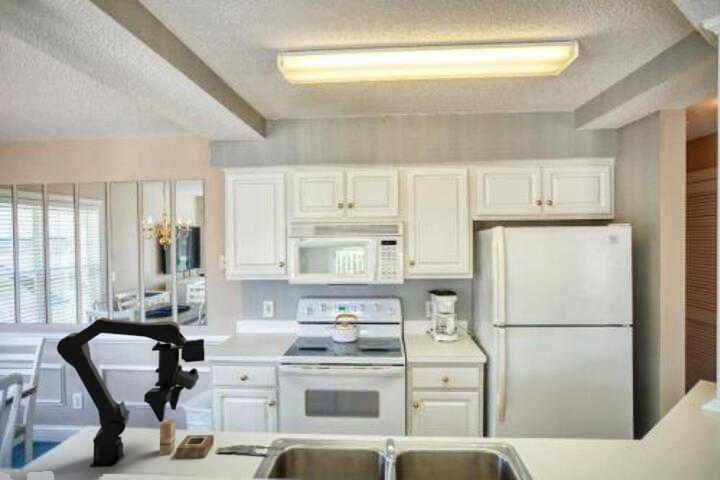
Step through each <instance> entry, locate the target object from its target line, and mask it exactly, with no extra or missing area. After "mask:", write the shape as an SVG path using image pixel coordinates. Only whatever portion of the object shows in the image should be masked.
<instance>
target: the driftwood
mask: <svg viewBox="0 0 720 480" xmlns="http://www.w3.org/2000/svg"><path fill="white" fill-rule="evenodd" d="M285 446H286V444H285V445H283V446H281V447H279V446H278V447H277V446H264V445H252V444H251V445H250V444H249V445H246V444H240V445H237V444H236V445H231V446H225V447H217V448H216V452H215V453H216V454H219V453H233V452H237V455H240V454H242V453H243V454H244V453H247V454H251V455H255V456H265V457H267V458H270V456H271V455H270V454H267V453H262V452H257V451H256V450H257V449H258V450H263V449H266V450H268V451H275V453H278V451H280V452H282V451H283V452H284V451H285V448H286V447H285ZM275 453H274V455H273V456H274V457H277V456H279V454H275Z"/></svg>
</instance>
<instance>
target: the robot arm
mask: <svg viewBox="0 0 720 480" xmlns="http://www.w3.org/2000/svg"><path fill="white" fill-rule="evenodd" d="M180 329H181V328H180V325H179V324H178V323H177V322H176V321H172V320H169V321H168V320H167V321H157V322H141V321H140V322H139V321H131V320H130V321H129V320H128V321H127V320H123V319H122V320H120V319H110V318H105V317H100V318H97V319H96V320H94V321H93V322H92V324H90V325H89V326H86V328H84V329H83V330H81V331H79V332H72V333H70V334H68V335H66V336H65V337H63V338H61V339H60V340H59V341H58V343H57V345H56V351H57V353H58V354H59V355H60V357H61V358H62V359H63V360H64V361H65V362H66V363H67V364H69V365H70V366H72V368H74V369H75V371H76V373H77V375H78V377H79V378H80V380H81V382H82V384H83V386H84V387H85V389H86V392H88V393H87V394H89V397H90V399H91V400H92V402H93V404H94V406H95V407H96V409H97V411H98V419H99V425H100V428H99V429H98V431H97V432H96V435H94V438H93V439H92V441H93V461H92V462H91V463H90V464H89V467H112V466H114V465H116V464H117V463H118V461H120V460H121V459H122V458H123V457H124V456H125V453H124V442H123V441H122V436H120V435H122V434H123V433H124V431H125V430H126V427H127V425H128V422H129V420H130V417H129V414H130V410H128V408H127V407H126V404H125V401H121V402H119V403H118V402H117V401H115V399H114V398H113V397H112V394H111V392H110V391H109V389H108V387H107V385H106V383H105V381H104V380H103V377H101V374H100V372H99V370H98V369H97V368H96V366H95V364H94V362H93V360H92V356H91V351H90V349H91V348H90V346H89V342H90V341H91V340H93V339H94V338H96V337H98V336H99V335H100V334H107V335H108V334H110V335H121V336H130V337H131V336H133V337H141V338H142V337H144V338H148V339H151V340H153V341H155V342H156V343H155V345H153V346H152V348H151V351H152V352H155V351H157V352H158V366H157V368H156V369H155V373H157V381H156V382H155V384H154V385H155V387H152V388H151V389H149V390H148V391H147V392H146V393H145V394H144V401H143V402H145V403H146V404H148V405H149V407H150V408H151V410H152V411H153V414H154V415H155V417H156V419H157V420H158V422H160V423H162V422H163V421H164V420H165V413H166V407H167V404H168V403H169V405H170V409H171V411H175V410H176V408H177V406H178V402H179V399H180V396H181V392H182V391H183V390H184V389H186V390H189V391H190V390H192V389H193V388H195V387H196V384H197V382H198V380H199V379H200V377H199V376H200V375H199V372H198V369H197V368H194V367H193V368H192V369H190V370H189V371H188V370H183V366H182V364H180V360H183V361H184V362H185V363H193V362H194V363H195V362H204V361H205V338H198V339H190V340H187V339H186V338H185V336H184V335H183V334H182V332H181V330H180ZM180 350H181V351H180ZM180 352H181V353H180ZM180 357H181V359H180Z"/></svg>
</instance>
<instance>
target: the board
mask: <svg viewBox="0 0 720 480" xmlns="http://www.w3.org/2000/svg"><path fill="white" fill-rule="evenodd" d="M214 436H215V435H214V434H203V435H202V434H198V435H196V434H195V435H193V434H192V435H189V434H188V435H186V436H185V438H184V439H182V441H181V442H180V444H179V445H178V446H177V447H176V459H195V458H198V459H201V458H200V457H205V458H206V457H207V455H208V454H209V452H210V451H211V449H212V447H213V446H214V441H215V440H214V439H215V438H214Z"/></svg>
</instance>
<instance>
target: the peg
mask: <svg viewBox="0 0 720 480" xmlns="http://www.w3.org/2000/svg"><path fill="white" fill-rule="evenodd" d="M174 449H175V450H176V419H163V421H162V422H160V424H159V455H160V454H161V455H171V454H172V453H173V452H174V451H175V450H174ZM173 450H174V451H173Z"/></svg>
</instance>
